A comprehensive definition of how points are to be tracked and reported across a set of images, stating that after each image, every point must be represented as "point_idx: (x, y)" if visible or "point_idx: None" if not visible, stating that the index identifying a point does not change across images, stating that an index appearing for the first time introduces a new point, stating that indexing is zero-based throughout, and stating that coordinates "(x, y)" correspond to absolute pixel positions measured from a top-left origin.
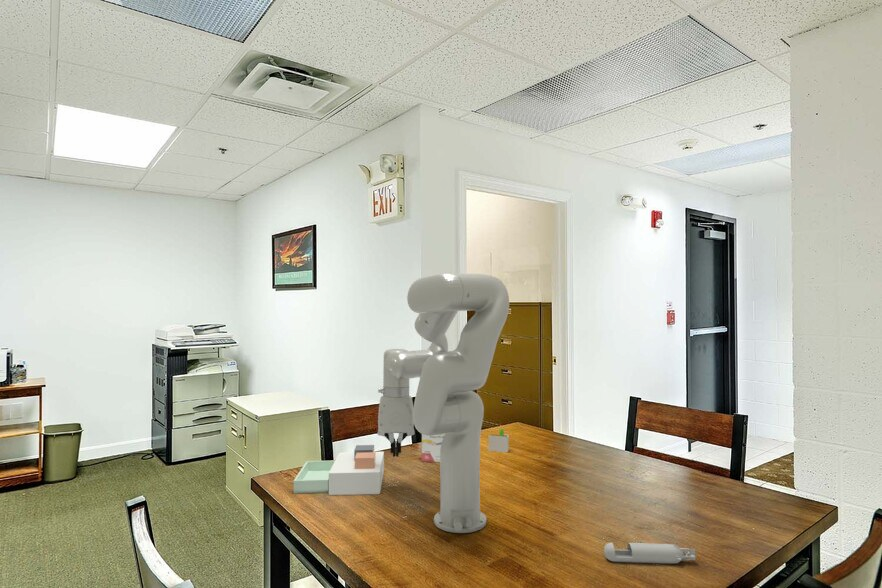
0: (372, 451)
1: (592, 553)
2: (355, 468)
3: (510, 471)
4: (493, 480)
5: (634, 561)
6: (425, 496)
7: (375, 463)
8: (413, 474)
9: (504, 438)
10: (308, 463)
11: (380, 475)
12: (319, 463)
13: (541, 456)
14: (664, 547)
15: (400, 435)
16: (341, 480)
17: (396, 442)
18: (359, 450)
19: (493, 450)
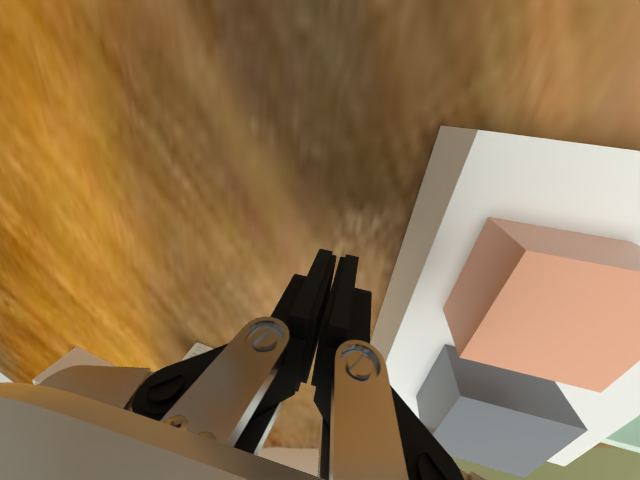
0: (460, 387)
1: None
2: (628, 242)
3: (31, 237)
4: (50, 179)
5: None
6: (244, 51)
7: (448, 296)
8: (282, 292)
9: (44, 379)
10: None
11: (437, 194)
12: (625, 435)
13: (4, 306)
14: None
15: (224, 395)
16: None
17: (308, 345)
18: (549, 418)
19: (103, 363)
